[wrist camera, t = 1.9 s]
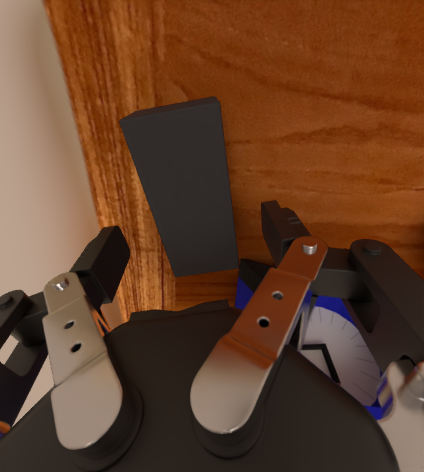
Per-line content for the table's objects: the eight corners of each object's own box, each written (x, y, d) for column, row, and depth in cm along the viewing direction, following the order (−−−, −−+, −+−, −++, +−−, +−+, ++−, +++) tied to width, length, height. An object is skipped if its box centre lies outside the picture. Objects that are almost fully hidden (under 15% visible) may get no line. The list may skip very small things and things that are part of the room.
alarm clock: (370, 250, 21) (604, 488, 9) (329, 326, 28) (427, 517, 16) (241, 252, 21) (302, 509, 8) (232, 329, 28) (257, 530, 15)
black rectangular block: (134, 111, 14) (118, 120, 11) (215, 95, 14) (219, 101, 11) (178, 249, 20) (174, 278, 17) (233, 240, 20) (239, 268, 17)
